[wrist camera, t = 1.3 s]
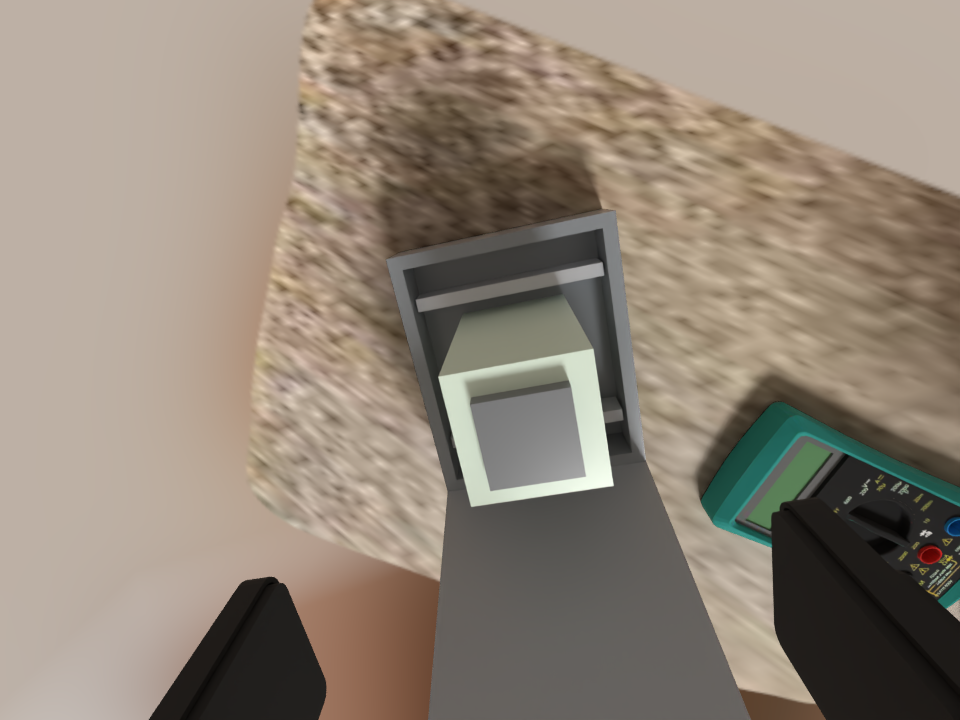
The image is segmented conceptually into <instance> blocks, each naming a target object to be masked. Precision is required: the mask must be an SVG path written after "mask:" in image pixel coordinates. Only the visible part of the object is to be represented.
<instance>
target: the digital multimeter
mask: <svg viewBox="0 0 960 720" xmlns="http://www.w3.org/2000/svg"><path fill="white" fill-rule="evenodd" d="M858 459H859V460H858ZM935 495H936V496H935ZM814 497H816V498H820V499H821V500H822V501H824V502H825V503H826V504H827V505H828V506H829V507H830V508H831V509H832V510H833V511H834V512H835V513H836V514H837V515H838V516H839V517H840V518H841V519H842V520H844V521H845V522H846V523H847V524H848V525H849V526H850V527H851V528H852V529H853V530H854V531H855V532H856V533H857V534H858V535H859V536H860V537H861V538H862V539H863V540H864V541H865V542H866V543H867V544H869V545H870V546H871V547H872V548H873V549H874V550H875V551H876V552H877V553H878V554H879V555H880V556H881V557H882V558H883V559H884V560H885V561H886V562H887V563H888V564H889V565H890V566H891V567H893V568H894V569H895V570H899V571H902V572H904V573H906V574H908V575H909V576H910V577H912V578H913V579H914V580H916V581H917V582H918V583H919V584H920V585H921V586H922V587H923V588H924V589H925V590H926V591H927V592H928V593H930V594H931V595H932V596H933V597H934V598H935V599H936V600H937V601H938V602H939V603H940V604H941V605H942V606H943V607H944V608H948V607H949V606H951V605H952V604H954V603H955V602H956V601H958V600H959V599H960V487H958V486H955V485H953V484H950V483H948V482H945V481H943V480H941V479H939V478H936V477H934V476H932V475H929V474H927V473H925V472H922V471H920V470H918V469H916V468H913V467H911V466H909V465H906V464H904V463H902V462H899V461H897V460H895V459H893V458H891V457H889V456H887V455H885V454H883V453H881V452H879V451H877V450H875V449H873V448H871V447H868V446H866V445H864V444H862V443H860V442H858V441H856V440H854V439H852V438H850V437H848V436H846V435H844V434H842V433H840V432H838V431H837V430H835V429H833V428H831V427H829V426H827V425H825V424H823V423H822V422H820V421H818V420H816V419H814V418H812V417H810V416H808V415H807V414H805V413H803V412H801V411H799V410H797V409H795V408H793V407H791V406H790V405H788V404H786V403H784V402H779V401H778V402H775V403H773V404H771V405H770V406H769V407H768V408H767V409H766V411H765V412H764V413H763V414H762V415H761V416H760V417H759V418H758V420H757V421H756V422H755V423H754V424H753V425H752V426H751V428H750V429H749V430H748V431H747V432H746V434H745V435H744V436H743V437H742V439H741V440H740V441H739V442H738V443H737V445H736V446H735V448H734V449H733V450H732V452H731V453H730V454H729V456H728V457H727V459H726V460H725V461H724V463H723V464H722V466H721V468H720V469H719V471H718V472H717V474H716V476H715V477H714V479H713V480H712V482H711V484H710V486H709V487H708V489H707V491H706V492H705V494H704V496H703V498H702V500H701V503H702V506H703V508H704V509H705V511H706V513H707V514H708V516H709V517H710V519H711V521H712V522H713V524H714V525H715V526H717V527H719V528H721V529H724V530H726V531H729V532H732V533H734V534H737V535H740V536H742V537H745V538H747V539H750V540H753V541H755V542H758V543H760V544H763V545H766V546H768V547H771V548H772V534H771V515H772V513H773V512H777V511H779V509H780V505H781V503H783V502H786V501H793V500H800V499H807V498H814ZM948 501H949V502H948ZM950 502H951V503H950Z"/></svg>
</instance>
